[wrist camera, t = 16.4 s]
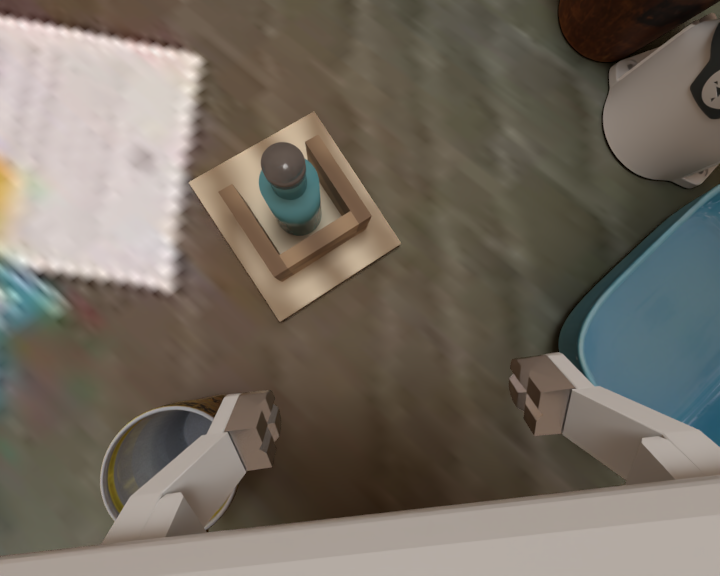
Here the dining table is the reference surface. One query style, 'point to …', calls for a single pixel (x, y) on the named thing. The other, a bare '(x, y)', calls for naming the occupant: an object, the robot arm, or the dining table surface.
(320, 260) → the bottle stand
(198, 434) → the ceramic cup
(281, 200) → the teal bottle
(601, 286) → the casserole dish
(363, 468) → the dining table surface
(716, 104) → the robot arm
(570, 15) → the case
